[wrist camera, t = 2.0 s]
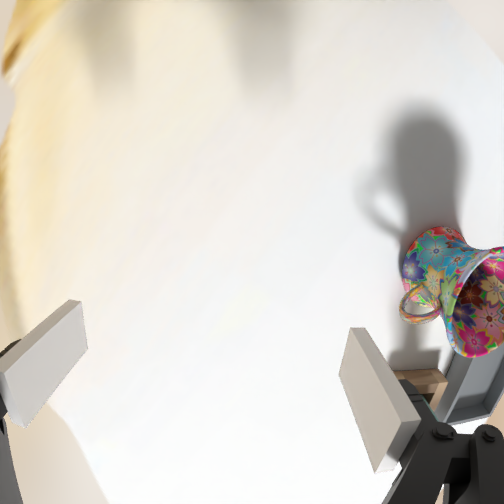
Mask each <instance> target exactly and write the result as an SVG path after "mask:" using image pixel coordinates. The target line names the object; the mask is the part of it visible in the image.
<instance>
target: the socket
mask: <svg viewBox="0 0 504 504" xmlns="http://www.w3.org/2000/svg"><path fill="white" fill-rule="evenodd" d="M393 373H394V375H395V376H396V378H397V379H407V380H408V381H409V382H410V383H412V384H413V385H414V386H415V387H416V389H417V390H418V392H419V393H420V394H423V396H424V398H425V399H426V401H427V402H428V404H429V406H430V407H431V409H432V410H433V412H434V411H435V409H436V407H437V405H438V403H439V401H440V399H441V397H442V395H443V393H444V391H445V388H446V386H447V384H448V381H447V380H446V378H445V377H444V376H443V374H442V373H441V372H440V371H439V369H438V368H437V369H424V370H408V371H393Z"/></svg>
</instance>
